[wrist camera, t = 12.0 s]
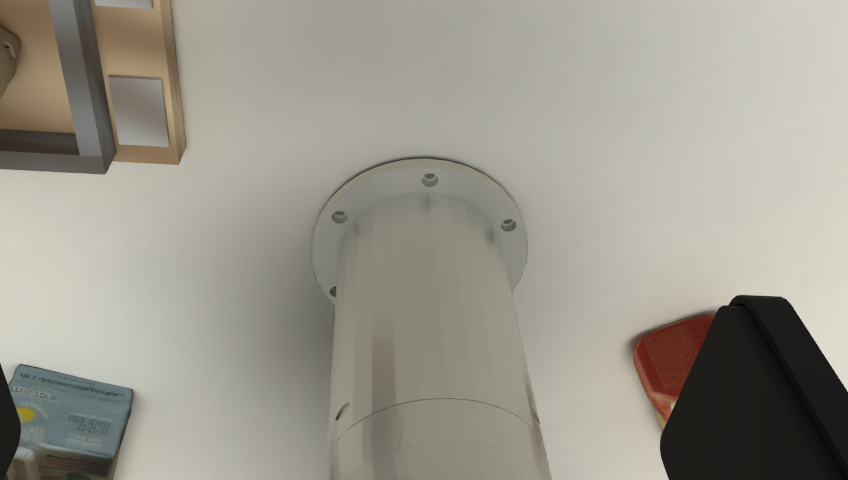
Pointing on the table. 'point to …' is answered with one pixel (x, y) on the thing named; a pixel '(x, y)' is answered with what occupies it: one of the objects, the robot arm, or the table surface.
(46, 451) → the beverage carton
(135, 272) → the table surface
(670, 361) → the snack package
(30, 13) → the wooden tray
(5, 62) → the handle
